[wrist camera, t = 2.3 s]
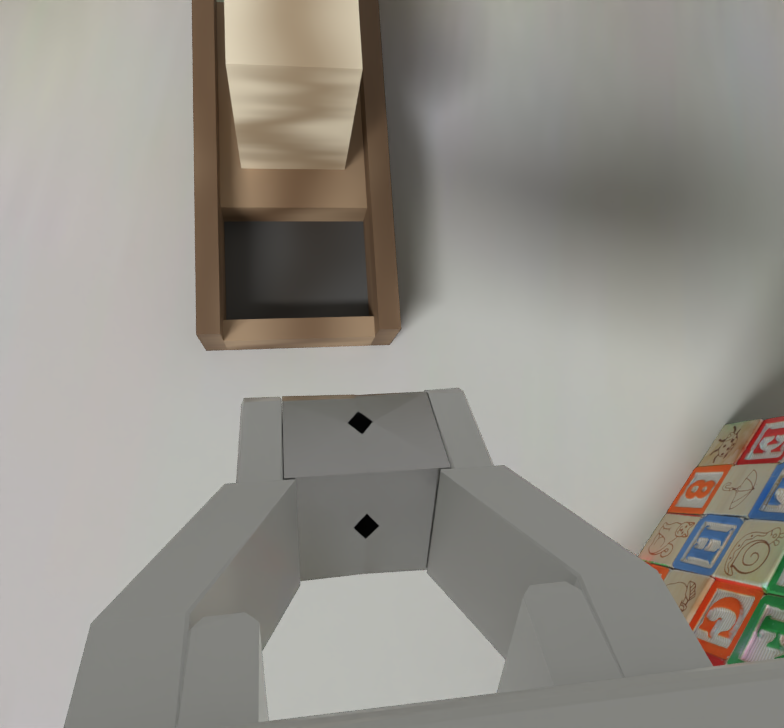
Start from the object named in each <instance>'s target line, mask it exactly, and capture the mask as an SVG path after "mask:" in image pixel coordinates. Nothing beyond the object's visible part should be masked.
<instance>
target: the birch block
mask: <svg viewBox="0 0 784 728" xmlns="http://www.w3.org/2000/svg"><path fill="white" fill-rule="evenodd" d="M224 16H225V59H226V70H227V76H228V83H229V90H230V96H231V103H232V110H233V116H234V123H235V130H236V137H237V143H238V150H239V157H240V163H241V168H250V169H328V170H345V165H346V160H347V154H348V148H349V143H350V137H351V131H352V126H353V120H354V115H355V109H356V103H357V98H358V92H359V87H360V81H361V75H362V70H363V67H362V51H361V35H360V20H359V4H358V0H224Z"/></svg>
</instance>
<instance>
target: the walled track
mask: <svg viewBox="0 0 784 728" xmlns="http://www.w3.org/2000/svg"><path fill="white" fill-rule="evenodd" d="M358 4H359V20H360V35H361V51H362V67H363V70H362V75H361V81H360V87H359V92H358V98H357V103H356V109H355V115H354V120H353V126H352V131H351V137H350V143H349V148H348V154H347V160H346V165H345V170H328V169H250V168H241V163H240V157H239V150H238V143H237V137H236V130H235V123H234V116H233V110H232V103H231V96H230V90H229V83H228V76H227V70H226V59H225V16H224V0H192V48H193V122H194V197H195V272H196V335H197V336H198V338H199V340H200V341H201V343H202V344H203V346H204V348H205V349H206V351H211V350H242V349H273V348H304V347H336V346H367V345H390V343H391V342H392V341H393V339H394V338H395V336H396V335H397V334H398V332H399V331H400V330H401V319H400V305H399V290H398V276H397V262H396V247H395V233H394V219H393V204H392V190H391V175H390V161H389V147H388V132H387V118H386V103H385V89H384V75H383V60H382V46H381V32H380V17H379V3H378V0H358Z"/></svg>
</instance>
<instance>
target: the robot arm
mask: <svg viewBox="0 0 784 728" xmlns="http://www.w3.org/2000/svg"><path fill="white" fill-rule="evenodd" d="M415 570H427V573H428V575H429V576H430V577H431V578H432V579H433V580H434V581H435V582H436V583H437V584H438V586H439V587H440V588H441V589H442V590H443V591H444V592H445V593H446V594H447V596H448V597H449V598H450V599H451V600H452V601H453V602H454V603H455V604H456V605H457V607H458V608H459V609H460V610H461V611H462V612H463V613H464V614H465V615H466V617H467V618H468V619H469V620H470V621H471V622H472V623H473V624H474V625H475V627H476V628H477V629H478V630H479V631H480V632H481V633H482V634H483V635H484V636H485V638H486V639H487V640H488V641H489V642H490V643H491V644H492V645H493V646H494V648H495V649H496V650H497V651H498V652H499V653H500V654H501V655H502V656H503V657H504V659H505V660H506V661H505V664H504V668H503V672H502V675H501V679H500V682H499V686H498V690H497V693H494V694H486V695H478V696H470V697H462V698H453V699H445V700H437V701H429V702H421V703H413V704H404V705H396V706H388V707H380V708H372V709H363V710H355V711H347V712H339V713H331V714H323V715H314V716H306V717H298V718H290V719H282V720H273V721H269V717H268V707H267V697H266V687H265V676H264V666H263V656H262V651H263V649H264V647H265V646H266V644H267V642H268V640H269V639H270V637H271V635H272V633H273V632H274V630H275V628H276V626H277V625H278V623H279V621H280V620H281V618H282V616H283V614H284V613H285V611H286V609H287V607H288V606H289V604H290V602H291V600H292V599H293V597H294V595H295V593H296V592H297V590H298V588H299V587H300V581H306V580H315V579H323V578H332V577H340V576H349V575H357V574H368V573H383V572H399V571H415ZM64 728H784V658H777V659H768V660H760V661H752V662H744V663H736V664H728V665H720V666H713V665H712V663H711V662H710V660H709V658H708V656H707V655H706V653H705V651H704V650H703V648H702V646H701V644H700V643H699V641H698V639H697V638H696V636H695V634H694V632H693V631H692V629H691V627H690V626H689V624H688V622H687V621H686V619H685V617H684V615H683V614H682V612H681V610H680V609H679V607H678V605H677V603H676V602H675V600H674V598H673V597H672V595H671V593H670V591H669V590H668V588H667V586H666V585H665V583H664V581H663V579H662V578H661V576H660V574H659V573H658V571H657V570H656V569H654V568H653V567H652V566H650V565H649V564H647V563H646V562H644V561H643V560H641V559H640V558H638V557H637V556H636V555H634V554H633V553H631V552H630V551H628V550H627V549H625V548H624V547H622V546H621V545H620V544H618V543H617V542H615V541H614V540H612V539H611V538H609V537H608V536H606V535H605V534H604V533H602V532H601V531H599V530H598V529H596V528H595V527H593V526H592V525H591V524H589V523H588V522H586V521H585V520H583V519H582V518H580V517H579V516H577V515H576V514H575V513H573V512H572V511H570V510H569V509H567V508H566V507H564V506H563V505H561V504H560V503H559V502H557V501H556V500H554V499H553V498H551V497H550V496H548V495H547V494H545V493H544V492H543V491H541V490H540V489H538V488H537V487H535V486H534V485H532V484H531V483H530V482H528V481H527V480H525V479H524V478H522V477H521V476H519V475H518V474H516V473H515V472H514V471H512V470H511V469H509V468H508V467H506V466H505V465H501V466H494V465H493V462H492V460H491V457H490V455H489V452H488V450H487V448H486V445H485V443H484V440H483V438H482V435H481V433H480V430H479V428H478V426H477V423H476V421H475V418H474V416H473V413H472V411H471V409H470V406H469V404H468V401H467V399H466V396H465V394H464V391H462V390H461V389H460V388H449V389H435V390H424V392H406V393H387V394H368V395H321V396H282V400H281V398H280V397H261V398H244V399H243V402H242V404H241V416H240V431H239V447H238V462H237V478H236V483H230V484H224V485H223V486H222V487H221V488H220V489H219V490H218V491H217V492H216V493H215V494H214V495H213V496H212V497H211V499H210V500H209V501H208V502H207V503H206V504H205V505H204V506H203V507H202V508H201V509H200V510H199V511H198V512H197V513H196V514H195V515H194V516H193V517H192V518H191V519H190V520H189V522H188V523H187V524H186V525H185V526H184V527H183V528H182V529H181V530H180V531H179V532H178V533H177V534H176V535H175V536H174V537H173V538H172V539H171V540H170V541H169V542H168V543H167V545H166V546H165V547H164V548H163V549H162V550H161V551H160V552H159V553H158V554H157V555H156V556H155V557H154V558H153V559H152V560H151V561H150V562H149V563H148V564H147V565H146V566H145V568H144V569H143V570H142V571H141V572H140V573H139V574H138V575H137V576H136V577H135V578H134V579H133V580H132V581H131V582H130V583H129V584H128V585H127V586H126V587H125V588H124V589H123V591H122V592H121V593H120V594H119V595H118V596H117V597H116V598H115V599H114V600H113V601H112V602H111V603H110V604H109V605H108V606H107V607H106V608H105V609H104V610H103V611H102V612H101V614H100V615H99V616H98V617H97V618H96V619H95V620H94V621H93V622H92V623H91V625H90V629H89V633H88V637H87V641H86V644H85V648H84V652H83V656H82V660H81V664H80V667H79V671H78V675H77V679H76V683H75V686H74V690H73V694H72V698H71V702H70V705H69V709H68V713H67V717H66V721H65V724H64Z"/></svg>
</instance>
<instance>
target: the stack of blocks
mask: <svg viewBox="0 0 784 728" xmlns="http://www.w3.org/2000/svg"><path fill="white" fill-rule="evenodd" d="M638 558H640V559H641V560H643V561H644V562H646V563H647V564H649V565H650V566H652V567H653V568H654V569H656V570H657V571H658V573H659V574H660V576H661V578H662V579H663V581H664V583H665V585H666V586H667V588H668V590H669V591H670V593H671V595H672V597H673V598H674V600H675V602H676V603H677V605H678V607H679V609H680V610H681V612H682V614H683V615H684V617H685V619H686V621H687V622H688V624H689V626H690V627H691V629H692V631H693V632H694V634H695V636H696V638H697V639H698V641H699V643H700V644H701V646H702V648H703V650H704V651H705V653H706V655H707V656H708V658H709V660H710V662H711V663H712V665H713V666H720V665H728V664H736V663H744V662H752V661H760V660H768V659H777V658H784V416H781V417H776V418H770V419H766V420H763V419H756V420H749V421H743V422H738V423H732V424H726V425H725V426H724V427H723V428H722V430H721V431H720V433H719V434H718V436H717V437H716V439H715V441H714V442H713V444H712V445H711V447H710V448H709V450H708V451H707V453H706V454H705V456H704V458H703V459H702V461H701V462H700V464H699V465H698V467H696V468H695V469H694V470H693V472H692V473H691V475H690V477H689V478H688V480H687V481H686V483H685V484H684V486H683V487H682V489H681V491H680V492H679V494H678V495H677V497H676V498H675V500H674V501H673V503H672V505H671V506H670V508H669V509H668V512H667V513H666V515H665V516H664V517H663V519H662V520H661V522H660V523H659V524H658V526H657V527H656V529H655V531H654V532H653V534H652V536H651V537H650V539H649V540H648V542H647V543H646V545H645V547H644V548H643V550H642V551H641V553H640V554H639V556H638Z"/></svg>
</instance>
